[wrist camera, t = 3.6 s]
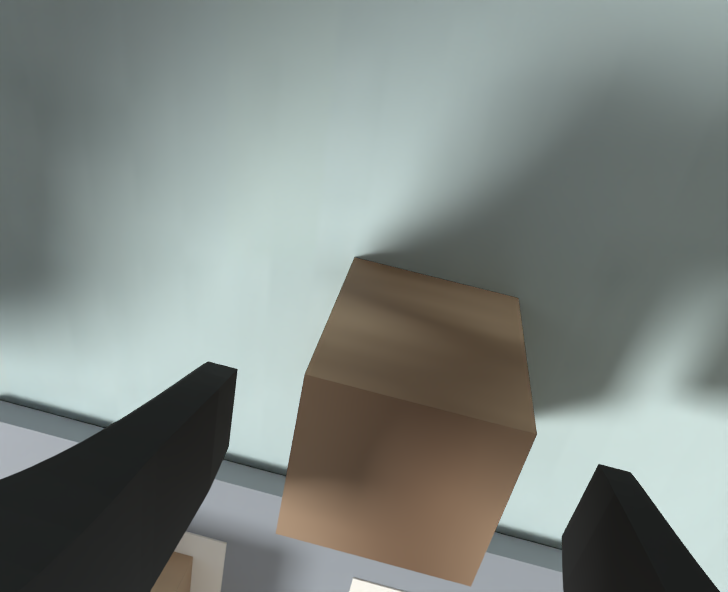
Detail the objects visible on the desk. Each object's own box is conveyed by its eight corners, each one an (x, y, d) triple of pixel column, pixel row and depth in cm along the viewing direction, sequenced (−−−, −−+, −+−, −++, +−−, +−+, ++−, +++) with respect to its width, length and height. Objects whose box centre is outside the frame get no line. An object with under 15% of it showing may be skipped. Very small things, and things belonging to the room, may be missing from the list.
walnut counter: (327, 387, 17) (275, 533, 12) (354, 256, 15) (304, 374, 10) (471, 425, 17) (471, 586, 12) (518, 296, 15) (536, 433, 10)
